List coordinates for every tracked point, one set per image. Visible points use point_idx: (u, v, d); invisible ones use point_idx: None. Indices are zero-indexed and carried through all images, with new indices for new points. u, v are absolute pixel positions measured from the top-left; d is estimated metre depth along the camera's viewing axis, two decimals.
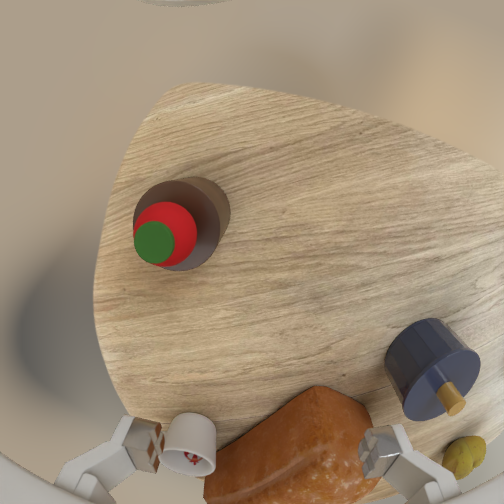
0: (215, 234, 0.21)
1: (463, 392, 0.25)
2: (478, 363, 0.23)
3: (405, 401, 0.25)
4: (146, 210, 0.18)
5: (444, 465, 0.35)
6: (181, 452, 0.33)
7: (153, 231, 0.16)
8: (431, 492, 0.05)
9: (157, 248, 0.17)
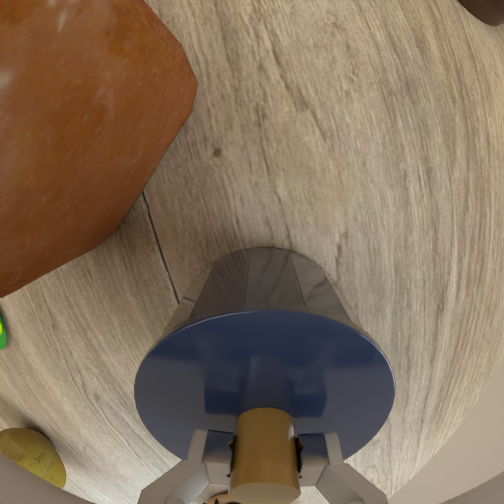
0: None
1: None
2: None
3: (251, 312, 0.09)
4: None
5: (9, 436, 0.19)
6: None
7: None
8: None
9: None
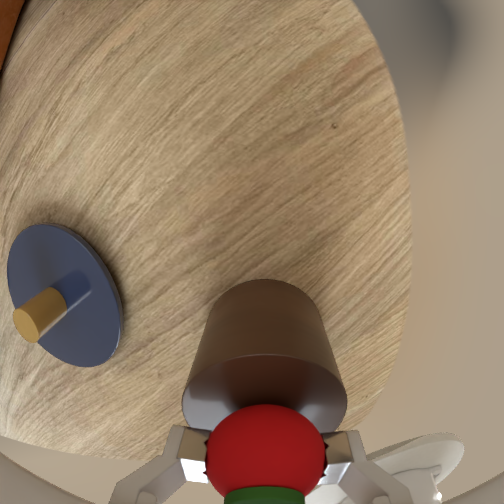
0: None
1: (19, 303, 0.16)
2: (51, 351, 0.17)
3: (94, 260, 0.15)
4: None
5: None
6: None
7: None
8: None
9: None
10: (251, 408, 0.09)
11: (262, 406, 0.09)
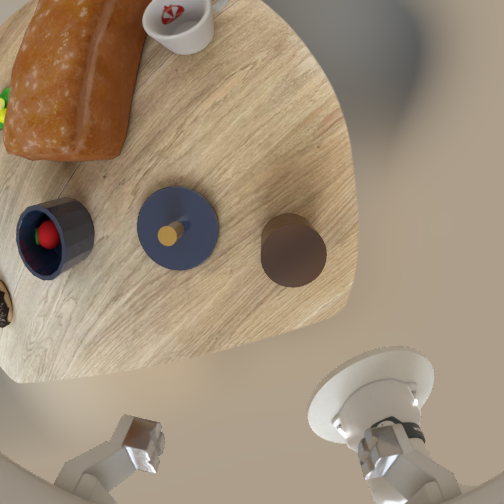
0: (265, 266, 0.31)
1: (144, 234, 0.36)
2: (162, 263, 0.37)
3: (208, 204, 0.35)
4: (44, 244, 0.34)
5: None
6: (185, 6, 0.24)
7: None
8: (431, 492, 0.05)
9: None
10: None
11: None
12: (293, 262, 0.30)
